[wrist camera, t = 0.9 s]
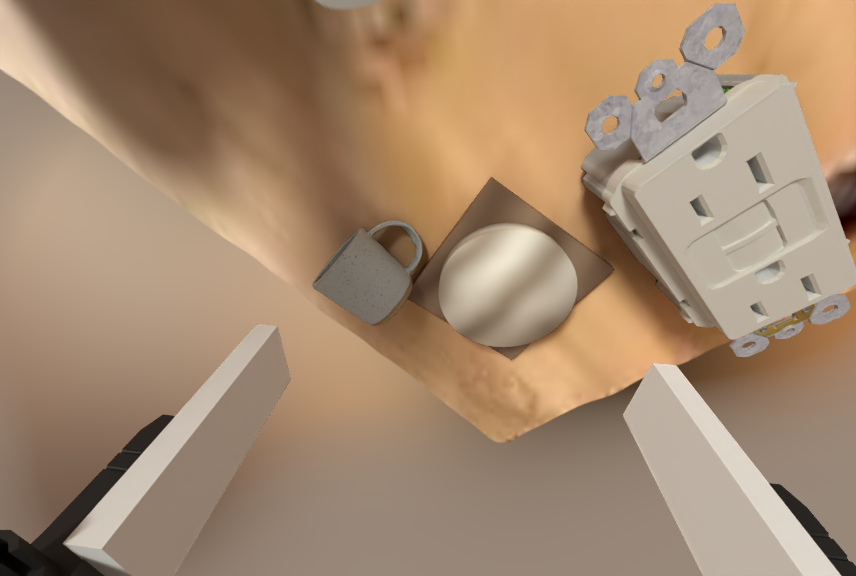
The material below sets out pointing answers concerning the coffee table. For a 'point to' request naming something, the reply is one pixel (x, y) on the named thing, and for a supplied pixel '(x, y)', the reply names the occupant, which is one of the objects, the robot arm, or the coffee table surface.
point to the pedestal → (506, 273)
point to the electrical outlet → (722, 193)
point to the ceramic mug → (368, 276)
